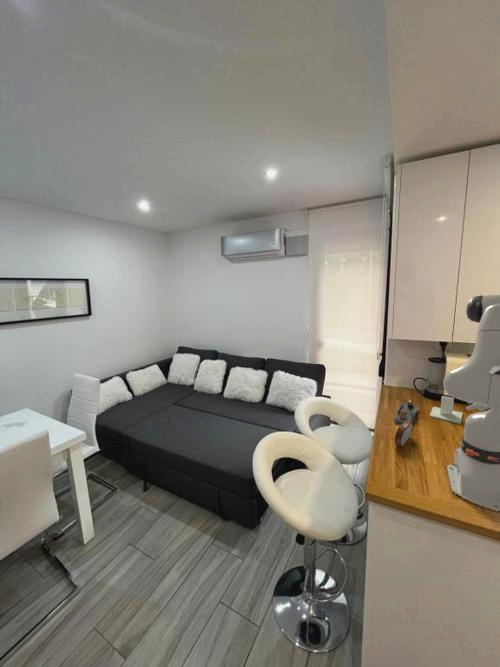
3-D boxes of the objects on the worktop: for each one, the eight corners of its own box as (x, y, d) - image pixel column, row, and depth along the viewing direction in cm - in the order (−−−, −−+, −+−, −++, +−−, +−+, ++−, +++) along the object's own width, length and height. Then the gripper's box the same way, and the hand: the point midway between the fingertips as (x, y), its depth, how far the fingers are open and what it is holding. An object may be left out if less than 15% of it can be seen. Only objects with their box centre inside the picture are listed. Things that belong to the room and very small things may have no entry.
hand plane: (409, 426, 132) (410, 414, 131) (394, 422, 137) (394, 410, 136) (418, 410, 149) (418, 399, 148) (403, 407, 153) (404, 396, 152)
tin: (405, 433, 127) (406, 417, 125) (412, 436, 124) (414, 419, 123) (393, 447, 117) (394, 429, 115) (401, 450, 114) (402, 431, 113)
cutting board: (460, 424, 133) (461, 422, 133) (429, 416, 142) (429, 415, 141) (462, 414, 143) (462, 412, 143) (433, 407, 151) (433, 406, 151)
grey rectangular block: (451, 416, 139) (453, 400, 137) (439, 414, 142) (441, 398, 141) (452, 413, 142) (453, 397, 140) (440, 411, 145) (442, 395, 144)
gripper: (489, 380, 136) (463, 394, 144) (490, 393, 121) (461, 407, 129) (500, 390, 134) (473, 403, 142) (503, 404, 119) (472, 419, 127)
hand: (467, 405), depth 136 cm, fingers open, 8 cm apart
